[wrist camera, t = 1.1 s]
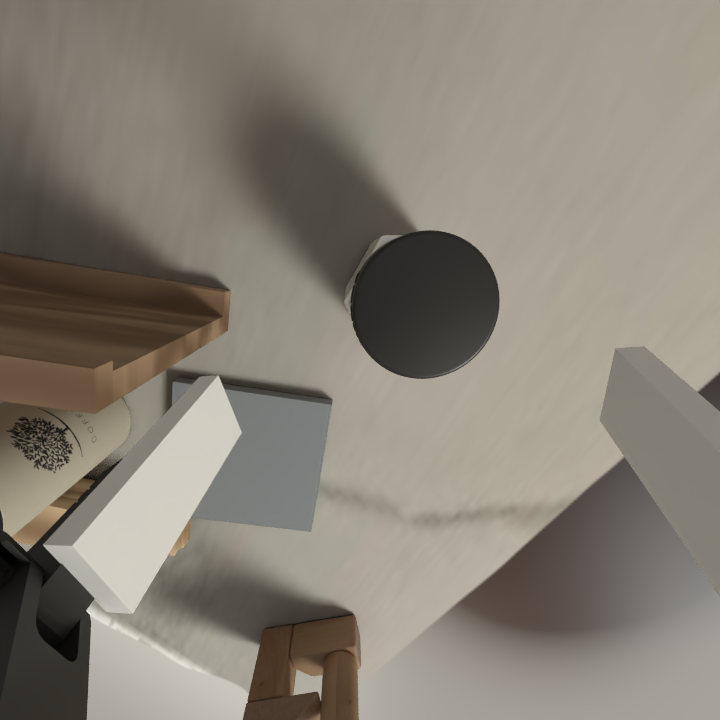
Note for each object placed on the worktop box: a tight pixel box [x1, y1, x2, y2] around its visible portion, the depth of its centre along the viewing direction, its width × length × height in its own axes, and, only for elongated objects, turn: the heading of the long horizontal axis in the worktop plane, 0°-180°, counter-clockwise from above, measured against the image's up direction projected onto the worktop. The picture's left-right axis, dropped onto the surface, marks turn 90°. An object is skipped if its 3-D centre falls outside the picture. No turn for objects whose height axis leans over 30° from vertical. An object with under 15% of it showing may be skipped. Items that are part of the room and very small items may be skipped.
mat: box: [172, 377, 332, 532], centre depth 34 cm, size 14×14×1 cm
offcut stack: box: [12, 478, 190, 556], centre depth 33 cm, size 6×20×4 cm, turn 80°
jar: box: [344, 231, 499, 379], centre depth 25 cm, size 9×8×12 cm
